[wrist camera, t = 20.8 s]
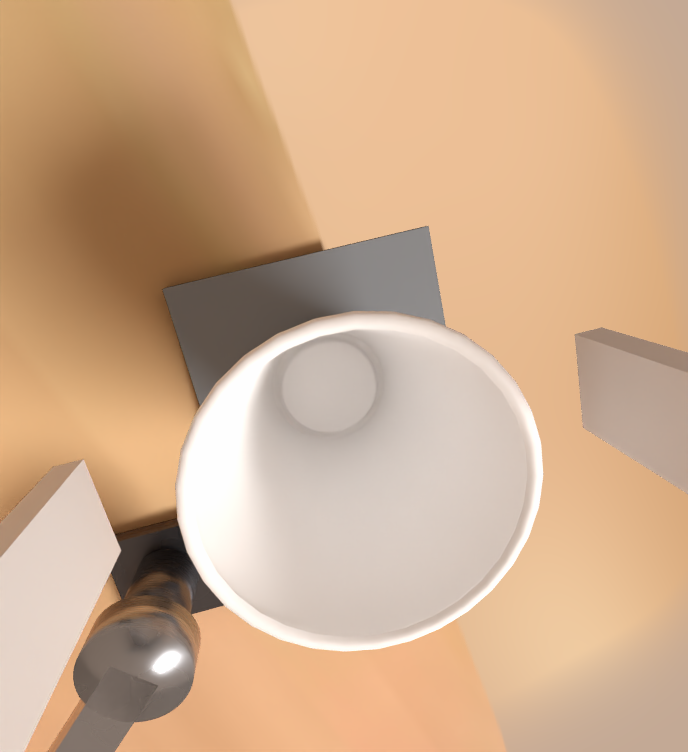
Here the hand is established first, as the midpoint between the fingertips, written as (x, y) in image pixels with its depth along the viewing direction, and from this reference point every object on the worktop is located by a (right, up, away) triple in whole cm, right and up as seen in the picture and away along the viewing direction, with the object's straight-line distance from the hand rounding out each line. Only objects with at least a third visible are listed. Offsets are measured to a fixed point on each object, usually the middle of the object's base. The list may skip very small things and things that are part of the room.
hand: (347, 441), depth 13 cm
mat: (-1, +1, +11) cm, 11 cm away
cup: (-1, +1, +11) cm, 11 cm away
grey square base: (-9, -8, +13) cm, 17 cm away
